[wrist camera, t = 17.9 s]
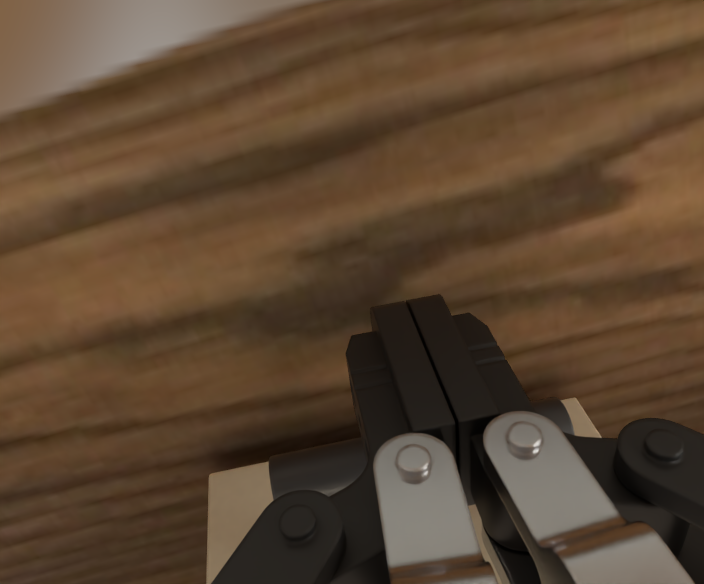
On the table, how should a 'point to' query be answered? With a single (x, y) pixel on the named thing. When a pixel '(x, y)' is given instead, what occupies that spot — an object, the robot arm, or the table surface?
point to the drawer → (323, 482)
